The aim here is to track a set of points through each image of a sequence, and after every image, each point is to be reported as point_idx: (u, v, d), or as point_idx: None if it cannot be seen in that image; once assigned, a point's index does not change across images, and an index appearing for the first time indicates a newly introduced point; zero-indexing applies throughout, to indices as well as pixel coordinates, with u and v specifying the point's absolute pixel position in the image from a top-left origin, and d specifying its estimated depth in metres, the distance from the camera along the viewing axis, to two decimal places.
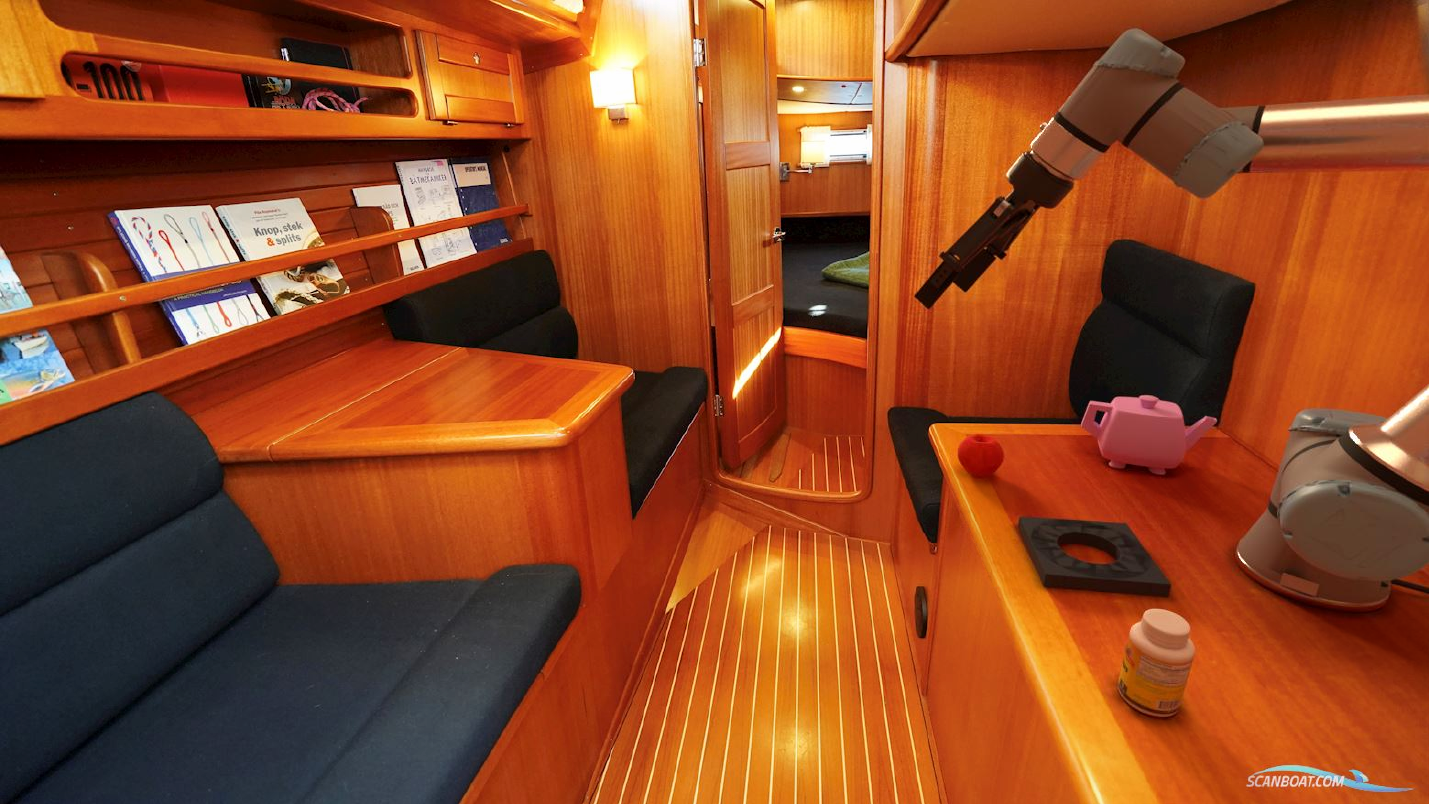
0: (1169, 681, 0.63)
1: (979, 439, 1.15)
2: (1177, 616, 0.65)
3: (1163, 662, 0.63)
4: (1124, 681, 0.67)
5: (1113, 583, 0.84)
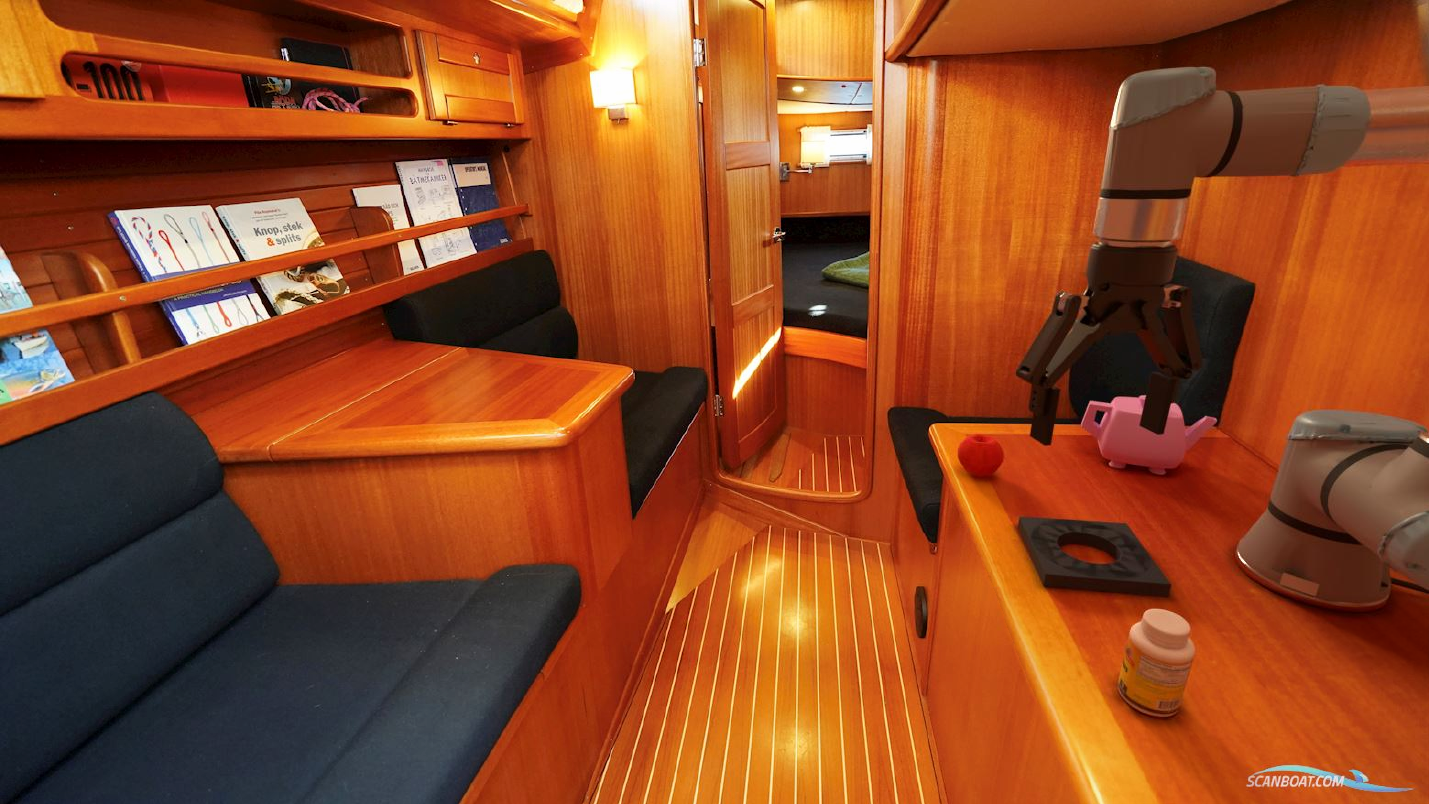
0: (1169, 681, 0.63)
1: (979, 439, 1.15)
2: (1177, 616, 0.65)
3: (1163, 662, 0.63)
4: (1124, 681, 0.67)
5: (1113, 583, 0.84)
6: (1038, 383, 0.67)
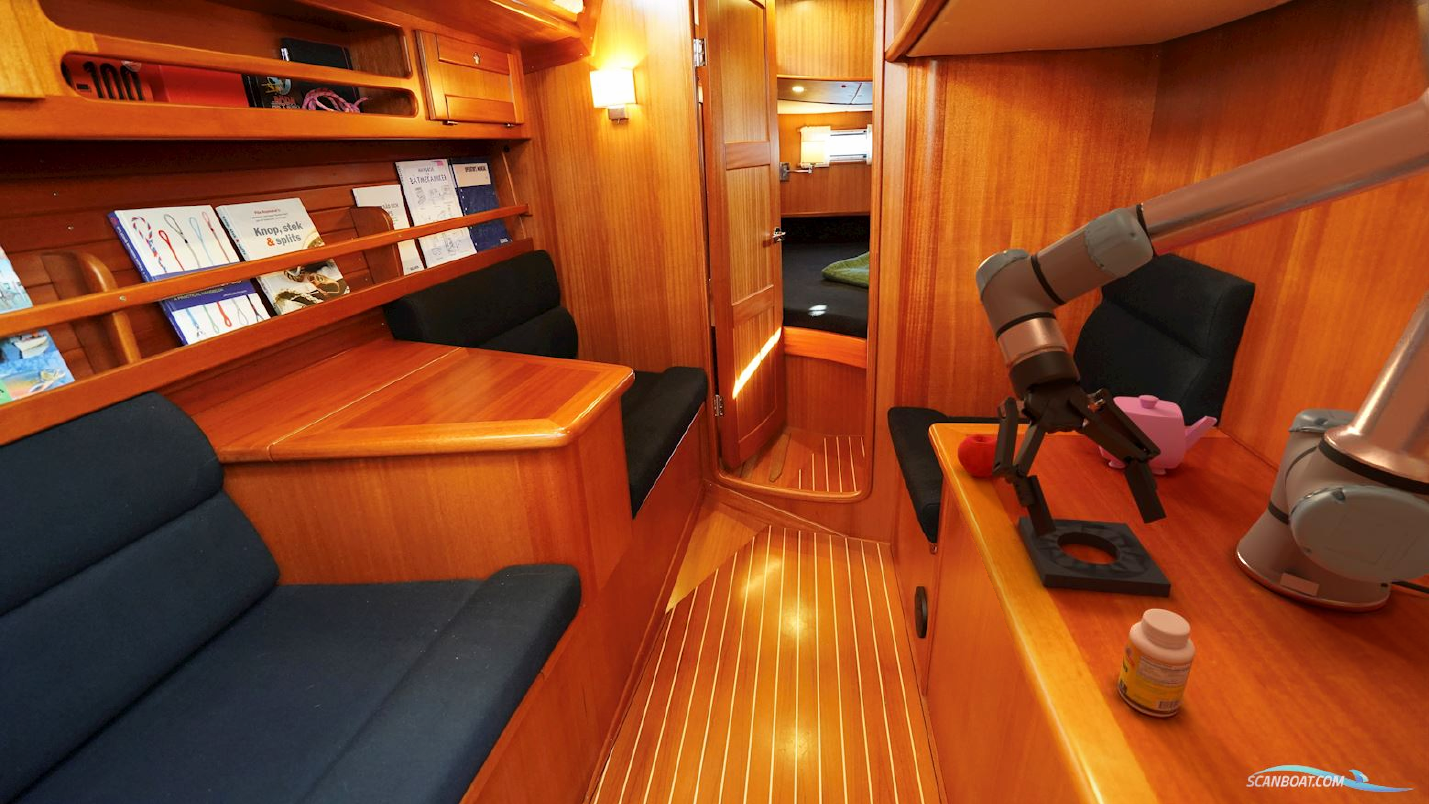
0: (1169, 681, 0.63)
1: (979, 439, 1.15)
2: (1177, 616, 0.65)
3: (1163, 662, 0.63)
4: (1124, 681, 0.67)
5: (1113, 583, 0.84)
6: (1014, 473, 0.73)
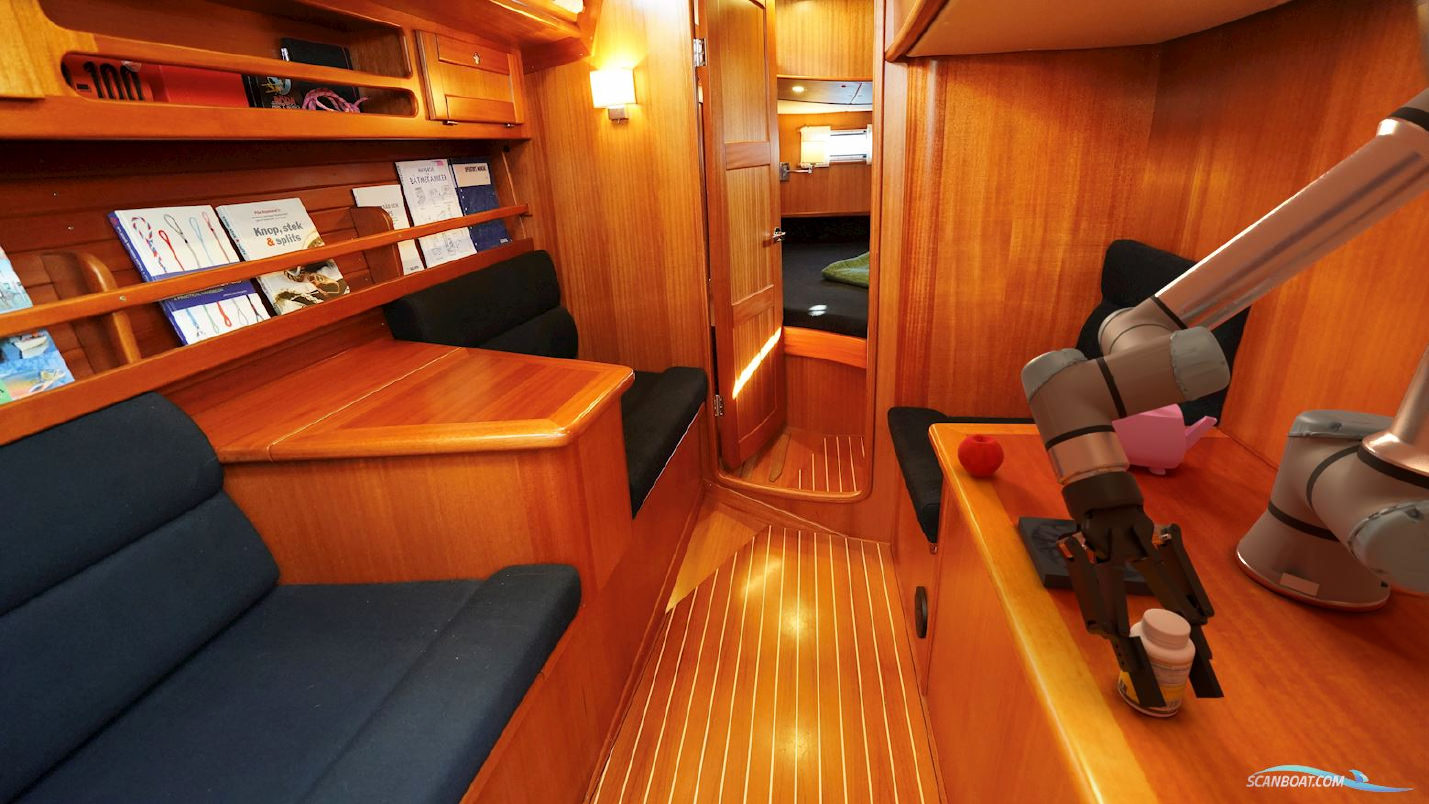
0: (1169, 681, 0.63)
1: (979, 439, 1.15)
2: (1177, 616, 0.65)
3: (1163, 662, 0.63)
4: (1124, 681, 0.67)
5: None
6: (1116, 636, 0.65)
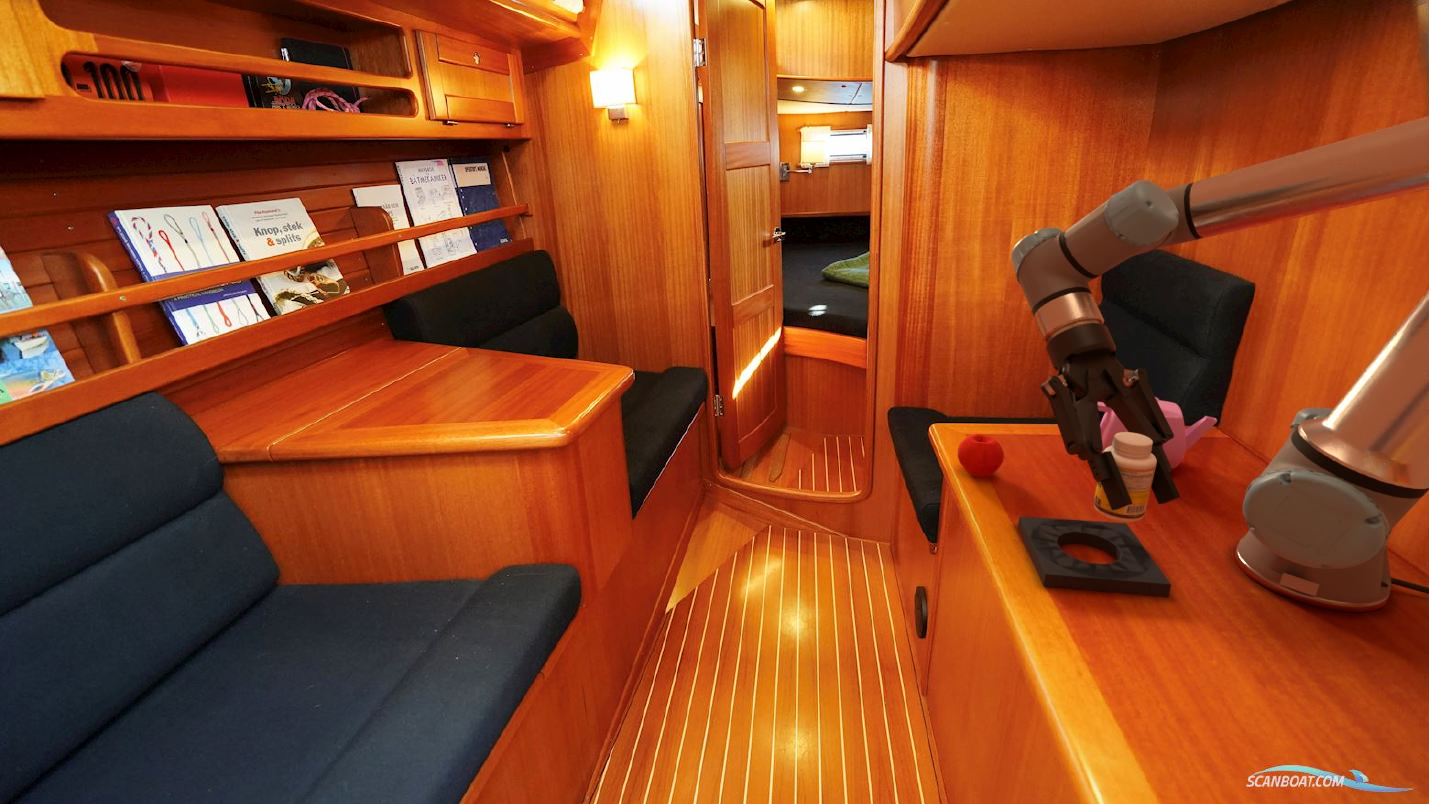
0: (1135, 487, 0.76)
1: (979, 439, 1.15)
2: (1142, 435, 0.77)
3: (1130, 470, 0.75)
4: (1098, 496, 0.80)
5: (1113, 583, 0.84)
6: (1091, 452, 0.77)
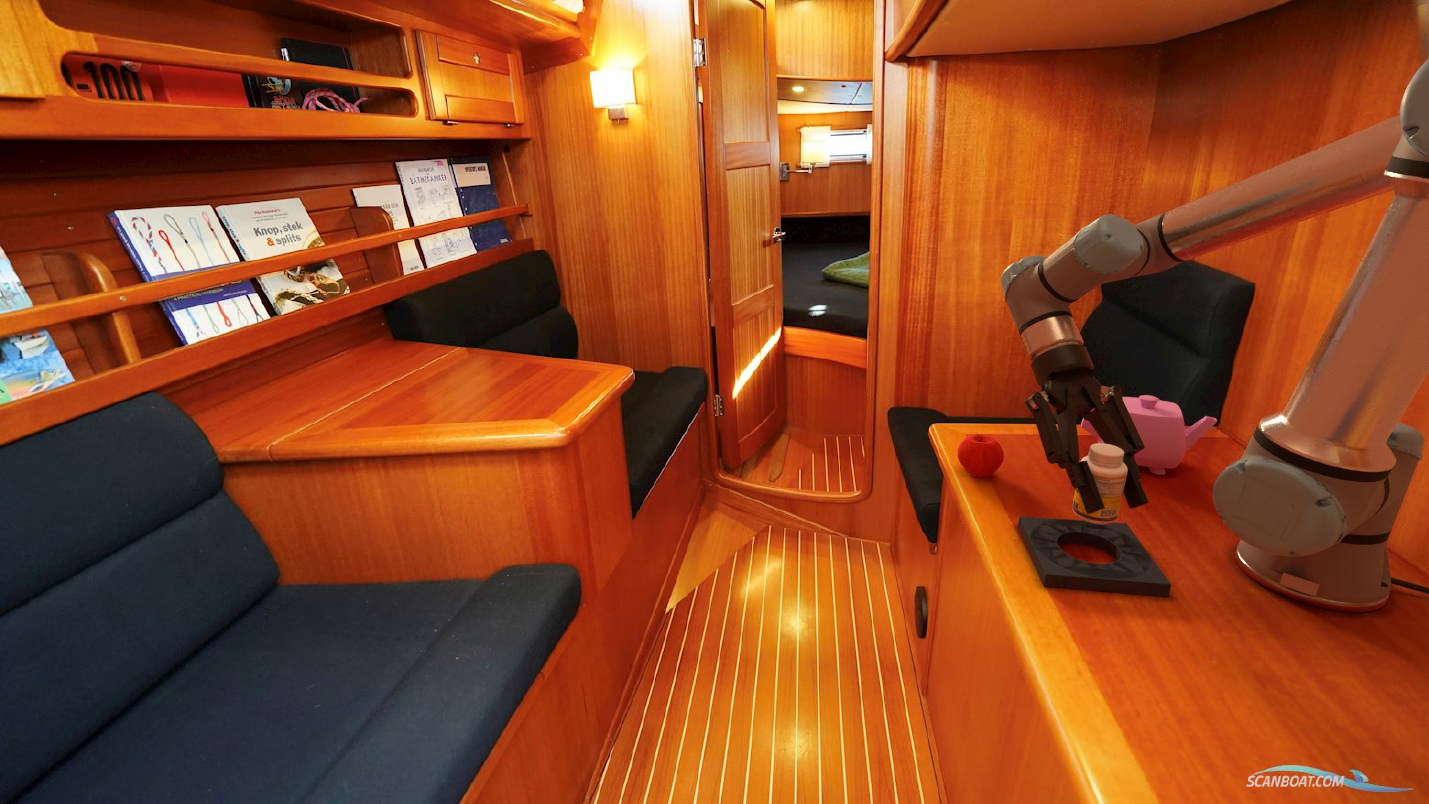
0: (1108, 493, 0.84)
1: (979, 439, 1.15)
2: (1115, 447, 0.86)
3: (1103, 477, 0.84)
4: (1076, 500, 0.88)
5: (1113, 583, 0.84)
6: (1069, 461, 0.86)
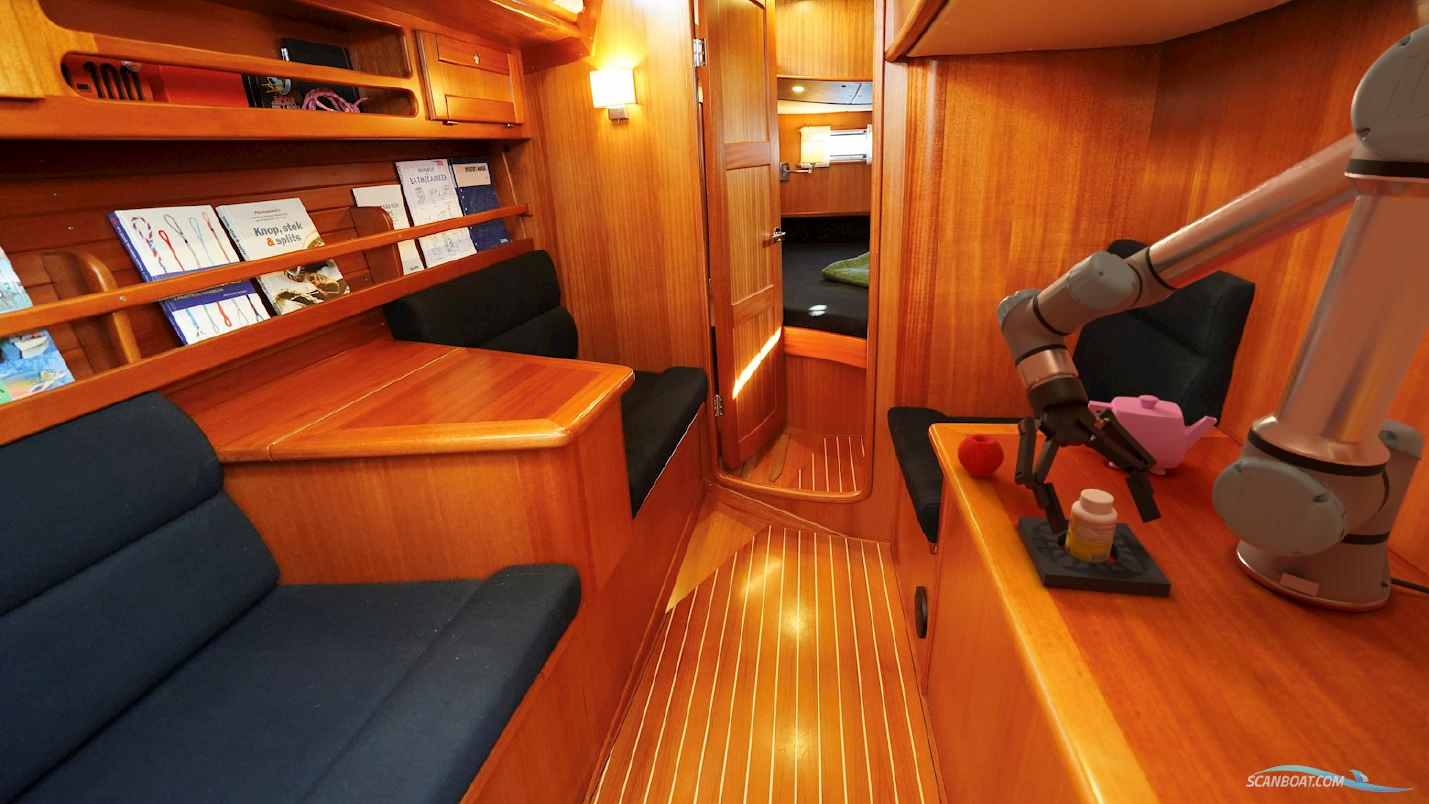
0: (1098, 538, 0.87)
1: (979, 439, 1.15)
2: (1105, 493, 0.88)
3: (1094, 524, 0.86)
4: (1068, 544, 0.91)
5: (1113, 583, 0.84)
6: (1033, 481, 0.88)
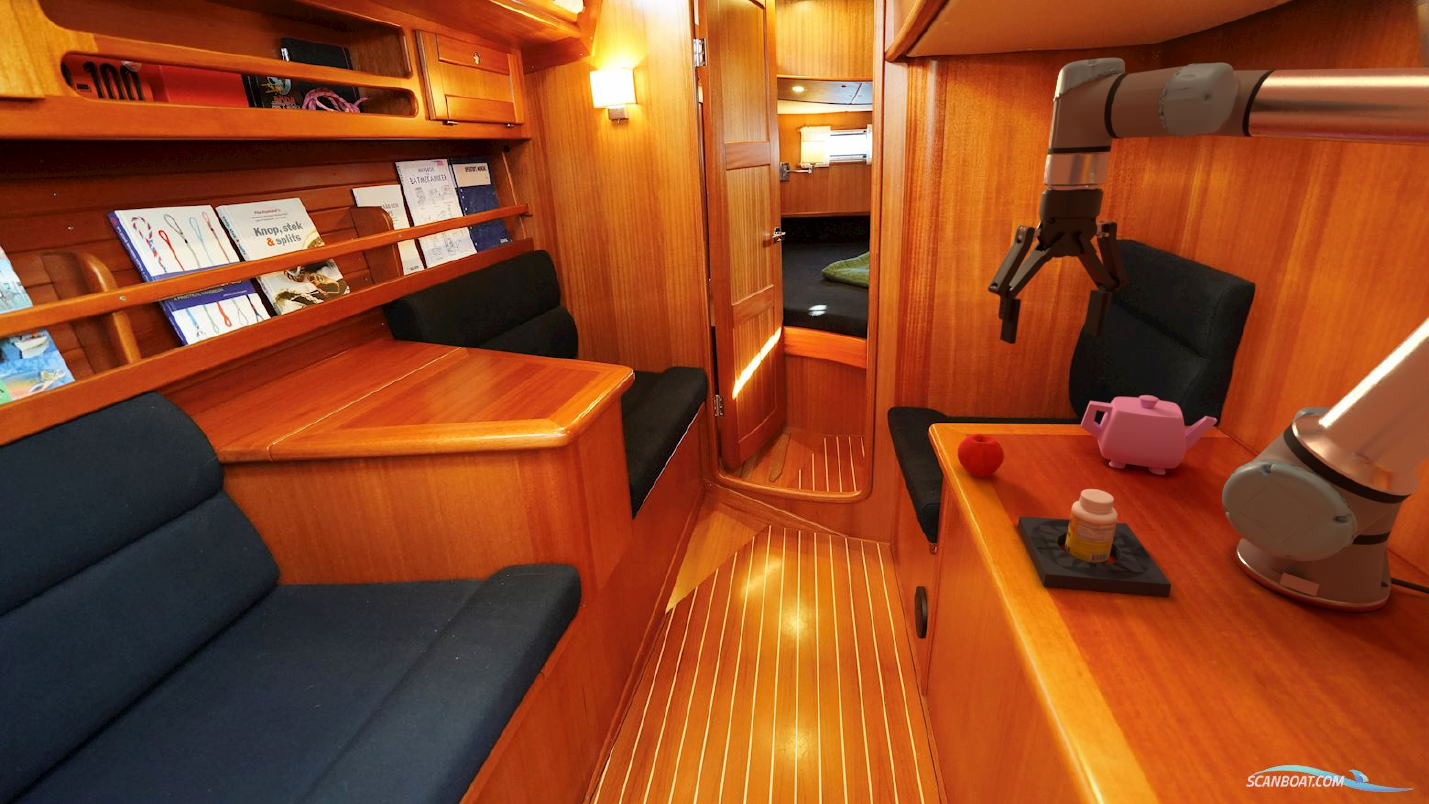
0: (1098, 538, 0.87)
1: (979, 439, 1.15)
2: (1105, 493, 0.88)
3: (1094, 524, 0.86)
4: (1068, 544, 0.91)
5: (1113, 583, 0.84)
6: (1004, 295, 0.91)
